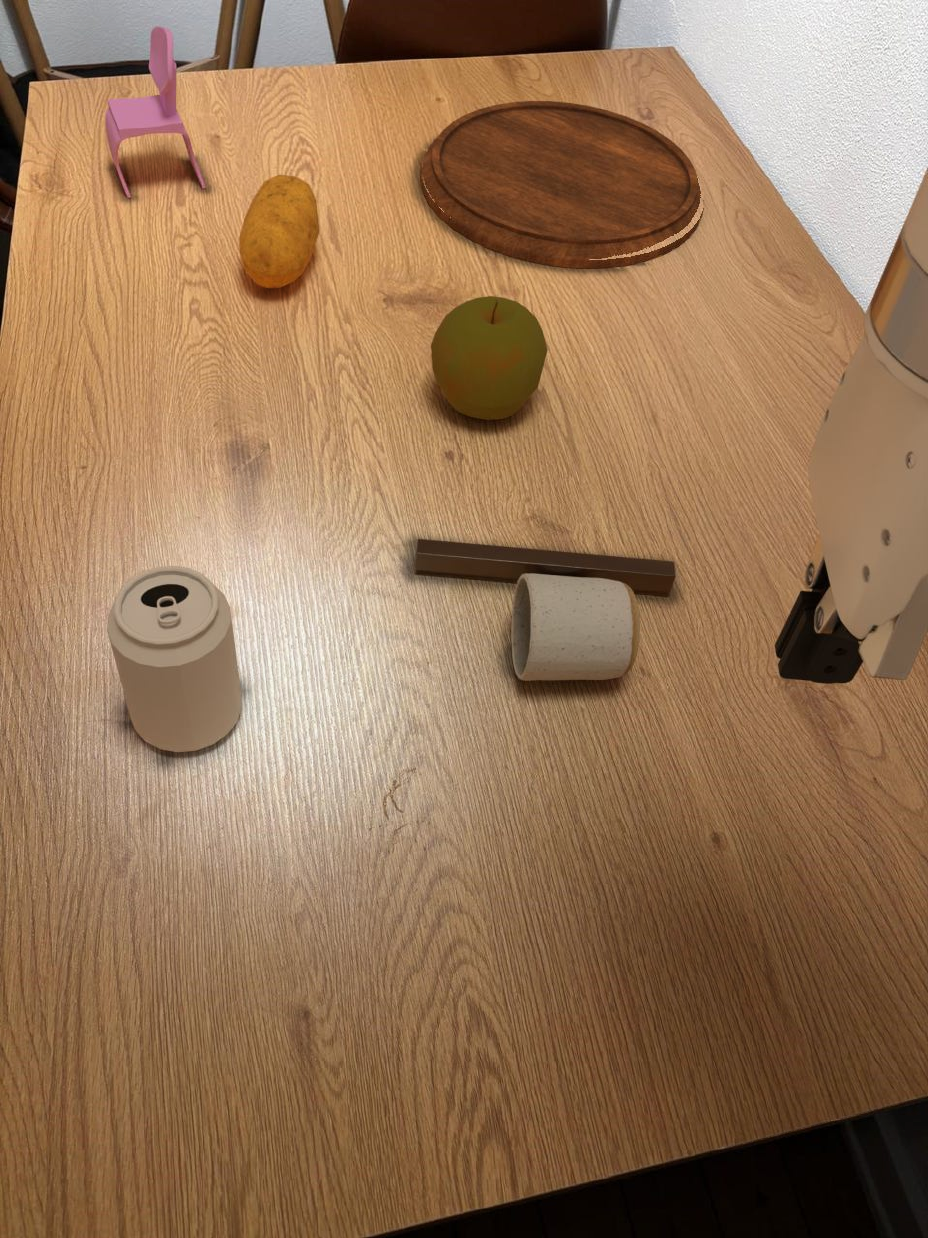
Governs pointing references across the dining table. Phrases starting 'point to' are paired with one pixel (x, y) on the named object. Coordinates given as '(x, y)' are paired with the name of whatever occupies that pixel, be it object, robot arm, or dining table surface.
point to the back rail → (539, 565)
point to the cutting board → (561, 184)
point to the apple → (488, 357)
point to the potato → (279, 231)
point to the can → (176, 658)
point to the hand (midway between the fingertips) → (811, 666)
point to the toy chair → (150, 105)
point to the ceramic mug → (573, 628)
